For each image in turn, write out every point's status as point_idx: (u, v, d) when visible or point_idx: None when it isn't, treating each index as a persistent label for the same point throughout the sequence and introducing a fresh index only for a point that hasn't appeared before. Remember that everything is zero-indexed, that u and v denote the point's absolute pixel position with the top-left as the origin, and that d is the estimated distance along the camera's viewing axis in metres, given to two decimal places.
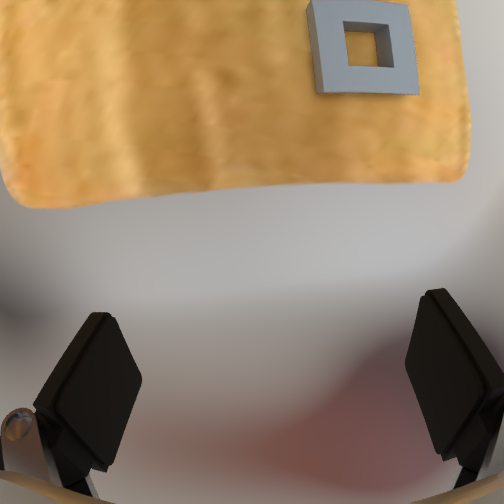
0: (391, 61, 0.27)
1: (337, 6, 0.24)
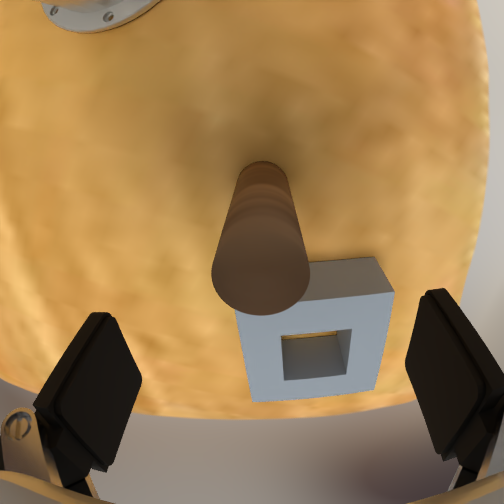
0: (345, 361, 0.24)
1: (274, 316, 0.21)
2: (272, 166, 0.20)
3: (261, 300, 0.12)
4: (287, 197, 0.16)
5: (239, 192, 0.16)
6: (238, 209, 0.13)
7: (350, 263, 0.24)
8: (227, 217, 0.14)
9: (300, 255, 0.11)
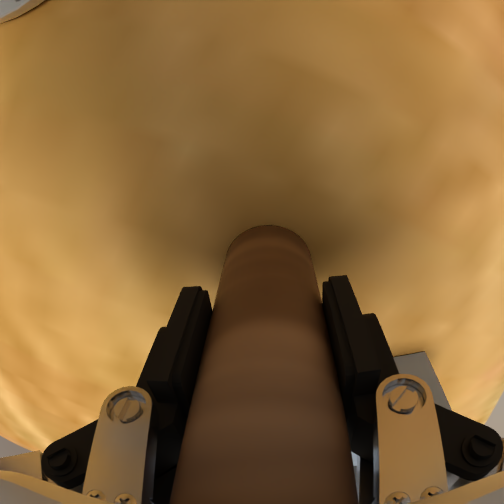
0: None
1: None
2: (287, 239, 0.12)
3: None
4: (324, 356, 0.07)
5: (219, 339, 0.07)
6: (209, 442, 0.05)
7: None
8: (188, 432, 0.05)
9: None
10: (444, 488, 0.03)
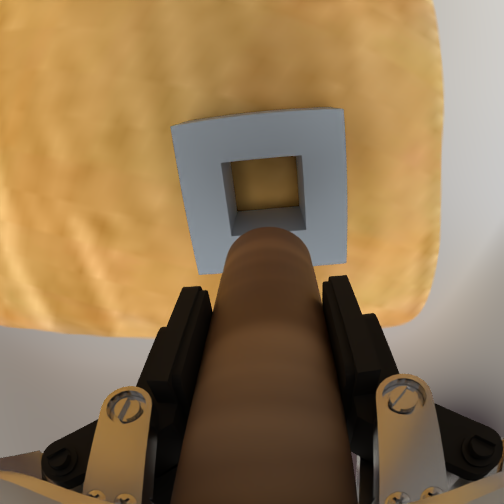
0: (304, 215, 0.22)
1: (212, 136, 0.19)
2: (287, 241, 0.12)
3: None
4: (324, 358, 0.07)
5: (219, 341, 0.07)
6: (209, 446, 0.05)
7: (301, 108, 0.22)
8: (188, 435, 0.05)
9: None
10: (444, 488, 0.03)
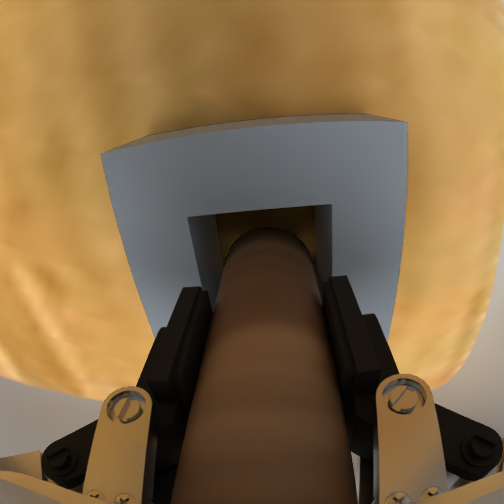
0: None
1: (169, 170, 0.11)
2: (287, 241, 0.12)
3: None
4: (324, 358, 0.07)
5: (220, 341, 0.07)
6: (209, 445, 0.05)
7: (324, 115, 0.13)
8: (188, 435, 0.05)
9: None
10: (444, 488, 0.03)
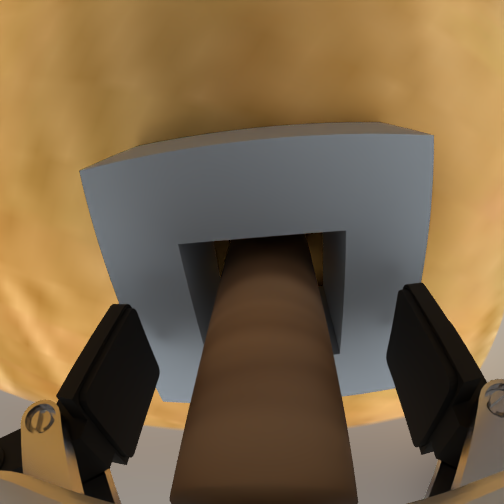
0: (337, 326, 0.12)
1: (157, 191, 0.09)
2: None
3: None
4: (314, 303, 0.09)
5: (228, 290, 0.09)
6: (222, 359, 0.06)
7: (335, 123, 0.12)
8: (203, 359, 0.07)
9: (346, 496, 0.04)
10: None
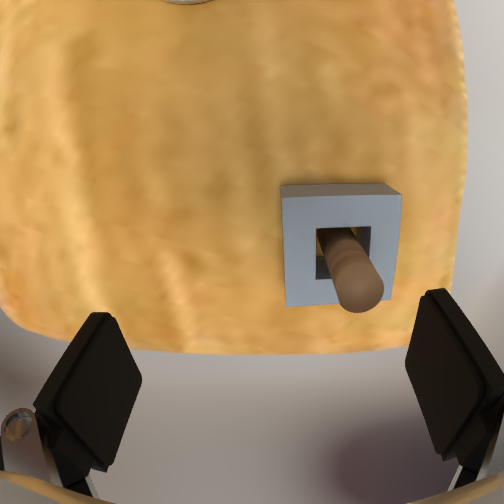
0: None
1: (312, 208, 0.27)
2: None
3: (359, 304, 0.23)
4: (362, 248, 0.27)
5: (335, 243, 0.27)
6: (344, 256, 0.24)
7: (366, 184, 0.30)
8: (335, 259, 0.25)
9: (381, 282, 0.22)
10: None
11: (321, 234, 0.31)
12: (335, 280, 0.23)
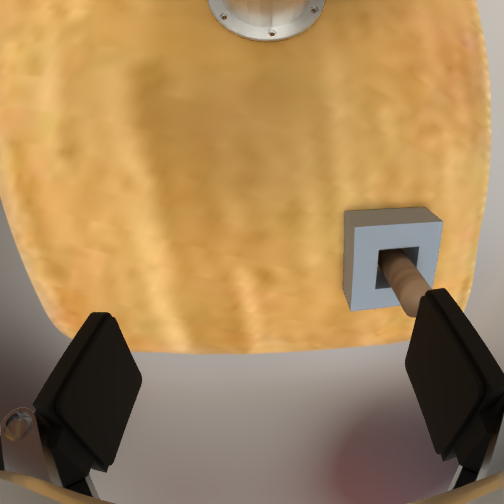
0: None
1: (377, 235, 0.32)
2: None
3: None
4: None
5: (394, 262, 0.32)
6: (404, 274, 0.30)
7: (412, 209, 0.35)
8: (397, 276, 0.30)
9: None
10: None
11: None
12: (400, 294, 0.29)
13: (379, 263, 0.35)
